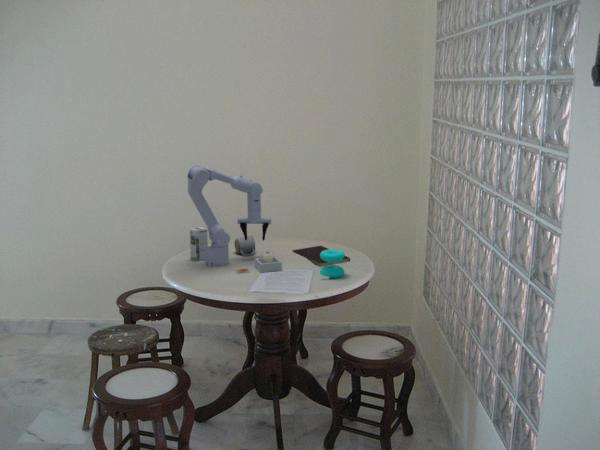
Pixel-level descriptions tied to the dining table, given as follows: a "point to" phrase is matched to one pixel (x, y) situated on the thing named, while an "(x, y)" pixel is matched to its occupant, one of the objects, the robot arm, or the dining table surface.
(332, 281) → the dining table surface
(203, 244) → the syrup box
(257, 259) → the pale grey open tray
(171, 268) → the dining table surface
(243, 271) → the brown rectangular board
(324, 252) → the donuts
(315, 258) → the hardcover book
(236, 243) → the ceramic mug
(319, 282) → the dining table surface
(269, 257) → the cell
